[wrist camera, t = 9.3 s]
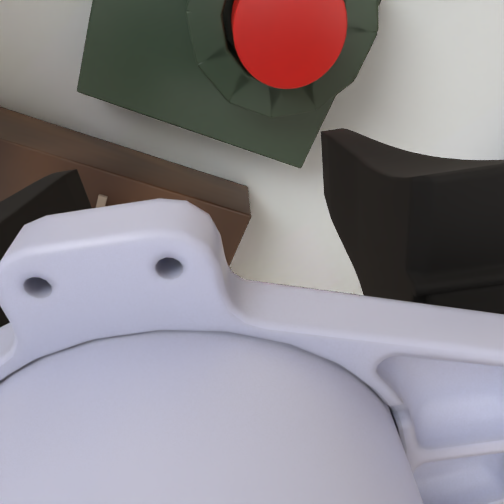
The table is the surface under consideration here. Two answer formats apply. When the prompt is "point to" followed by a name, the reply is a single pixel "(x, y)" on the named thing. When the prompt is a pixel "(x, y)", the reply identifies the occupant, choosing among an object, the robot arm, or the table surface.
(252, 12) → the button
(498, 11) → the table surface
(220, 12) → the button box
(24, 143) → the console
